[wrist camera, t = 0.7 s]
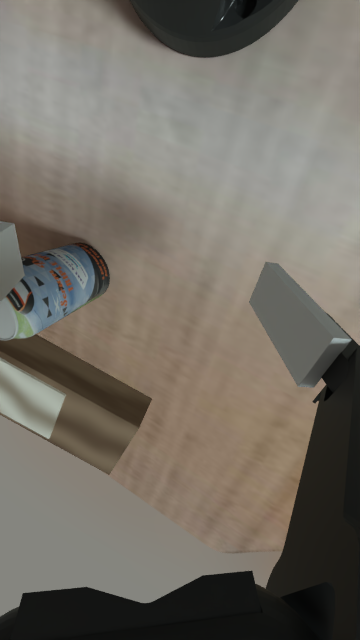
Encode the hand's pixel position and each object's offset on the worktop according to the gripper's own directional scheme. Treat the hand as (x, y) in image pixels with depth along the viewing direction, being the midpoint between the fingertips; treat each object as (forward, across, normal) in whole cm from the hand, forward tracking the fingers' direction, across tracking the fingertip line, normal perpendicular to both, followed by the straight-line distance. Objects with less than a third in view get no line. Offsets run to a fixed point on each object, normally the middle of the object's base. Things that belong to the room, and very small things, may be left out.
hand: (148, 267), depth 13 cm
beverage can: (+14, -6, -8) cm, 17 cm away
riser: (+11, -8, -26) cm, 29 cm away
